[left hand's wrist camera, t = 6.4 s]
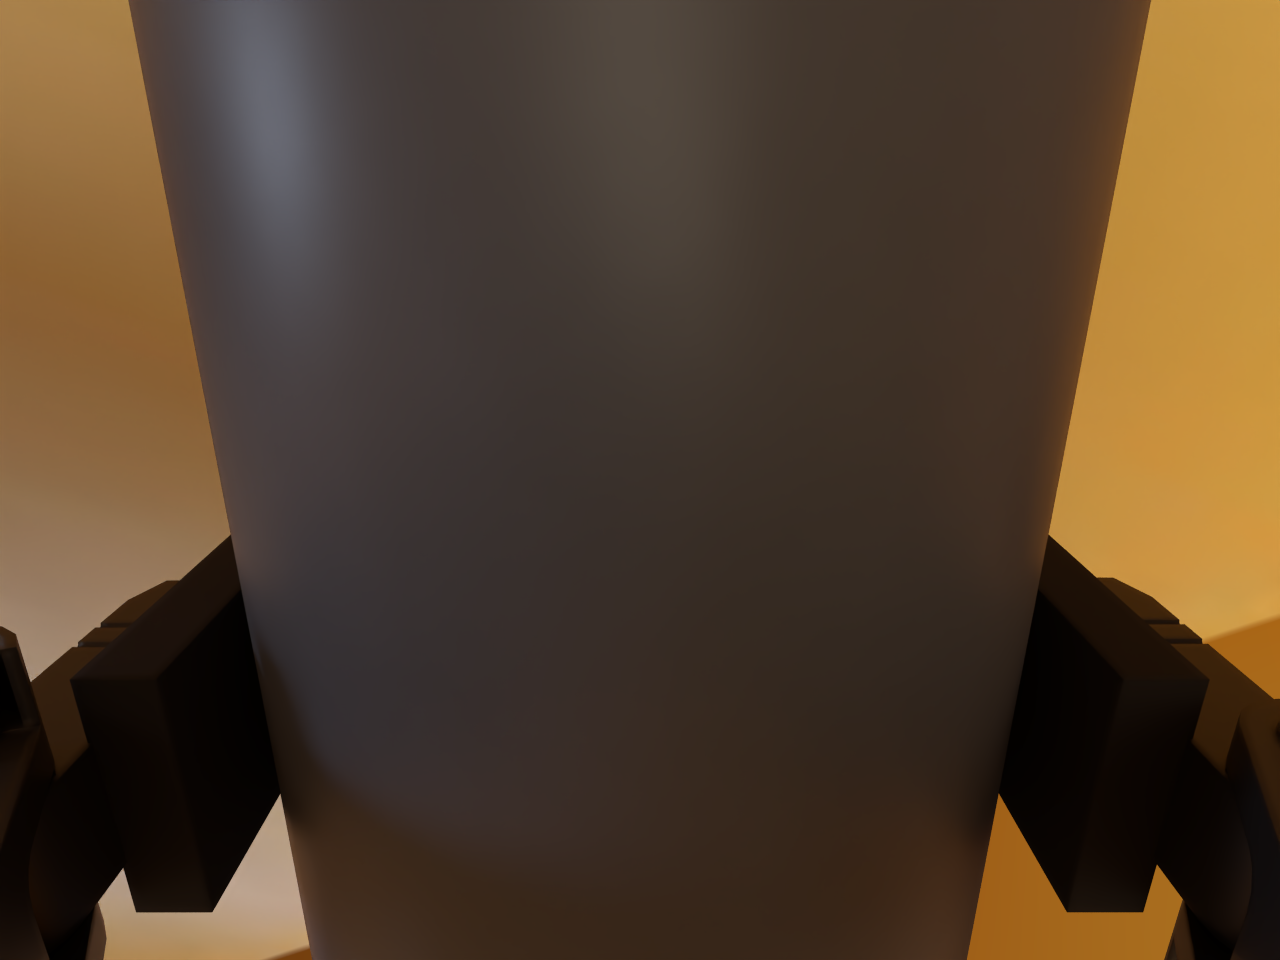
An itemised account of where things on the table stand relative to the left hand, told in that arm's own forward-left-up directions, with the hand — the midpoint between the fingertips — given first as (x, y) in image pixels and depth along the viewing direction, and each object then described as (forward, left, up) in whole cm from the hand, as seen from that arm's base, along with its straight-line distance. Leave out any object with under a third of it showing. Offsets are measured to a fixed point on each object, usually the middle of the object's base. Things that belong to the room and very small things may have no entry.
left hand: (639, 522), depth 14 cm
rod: (+6, +6, 0) cm, 8 cm away
